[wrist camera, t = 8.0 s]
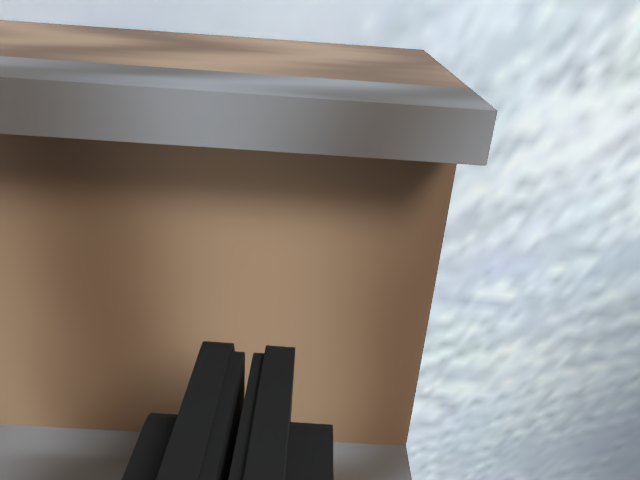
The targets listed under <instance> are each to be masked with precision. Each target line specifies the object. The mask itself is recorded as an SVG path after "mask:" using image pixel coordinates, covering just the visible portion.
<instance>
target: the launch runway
mask: <svg viewBox="0 0 640 480" xmlns="http://www.w3.org/2000/svg"><path fill="white" fill-rule="evenodd" d="M496 115H497V110H496V109H495V108H494V107H492V106H491V105H490V104H489V103H487V102H486V101H485V100H484V99H483V98H481V97H480V96H479V95H478V94H476V93H475V92H474V91H473V90H472V89H470V88H469V87H468V86H467V85H465V84H464V83H463V82H462V81H461V80H459V79H458V78H457V77H456V76H454V75H453V74H452V73H451V72H450V71H448V70H447V69H446V68H445V67H443V66H442V65H441V64H440V63H439V62H437V61H436V60H435V59H434V58H432V57H431V56H430V55H429V54H428V53H426V52H425V51H424V50H416V49H401V48H387V47H373V46H359V45H345V44H330V43H316V42H302V41H288V40H274V39H260V38H245V37H231V36H217V35H203V34H189V33H174V32H160V31H146V30H132V29H118V28H103V27H89V26H75V25H61V24H47V23H32V22H18V21H4V20H0V480H122V477H123V475H124V472H125V470H126V467H127V465H128V462H129V460H130V457H131V455H132V452H133V450H134V447H135V445H136V442H137V440H138V438H139V435H140V433H141V430H142V428H143V425H144V423H145V421H146V419H147V417H148V416H149V414H150V413H161V414H176V415H178V413H179V410H180V407H181V404H182V401H183V398H184V395H185V392H186V389H187V386H188V383H189V380H190V377H191V374H192V371H193V368H194V365H195V362H196V359H197V356H198V353H199V350H200V347H201V345H202V342H204V341H210V342H224V343H234V347H235V351H238V352H245V393H246V388H247V383H248V378H249V372H250V367H251V362H252V357H253V353H265V348H266V345H269V346H284V347H295V364H294V380H293V395H292V411H291V422H299V423H315V424H330V425H333V474H334V480H412V478H411V473H410V467H409V461H408V456H407V450H406V442H407V436H408V431H409V425H410V420H411V414H412V409H413V403H414V397H415V392H416V386H417V381H418V375H419V370H420V364H421V359H422V353H423V348H424V342H425V336H426V331H427V325H428V320H429V314H430V309H431V303H432V298H433V292H434V287H435V281H436V275H437V270H438V264H439V259H440V253H441V248H442V242H443V237H444V231H445V226H446V220H447V214H448V209H449V203H450V198H451V192H452V187H453V181H454V176H455V170H456V165H457V164H471V165H486V164H487V159H488V154H489V149H490V144H491V140H492V135H493V130H494V125H495V120H496ZM245 393H244V398H245Z"/></svg>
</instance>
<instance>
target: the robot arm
mask: <svg viewBox="0 0 640 480" xmlns="http://www.w3.org/2000/svg"><path fill="white" fill-rule="evenodd" d="M294 364H295V347H284V346H269V345H266V348H265V353H253V357H252V362H251V367H250V372H249V378H248V383H247V388H246V393H245V352H238V351H235V347H234V343H224V342H210V341H204V342H202V345H201V347H200V350H199V353H198V356H197V359H196V362H195V365H194V368H193V371H192V374H191V377H190V380H189V383H188V386H187V389H186V392H185V395H184V398H183V401H182V404H181V407H180V410H179V413H178V415H176V414H161V413H150V414H149V416H148V417H147V419H146V421H145V423H144V425H143V428H142V430H141V433H140V435H139V438H138V440H137V442H136V445H135V447H134V450H133V452H132V455H131V457H130V460H129V462H128V465H127V467H126V470H125V472H124V475H123V477H122V480H334V474H333V425H330V424H315V423H299V422H291V411H292V395H293V380H294ZM244 393H245V398H244Z"/></svg>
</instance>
